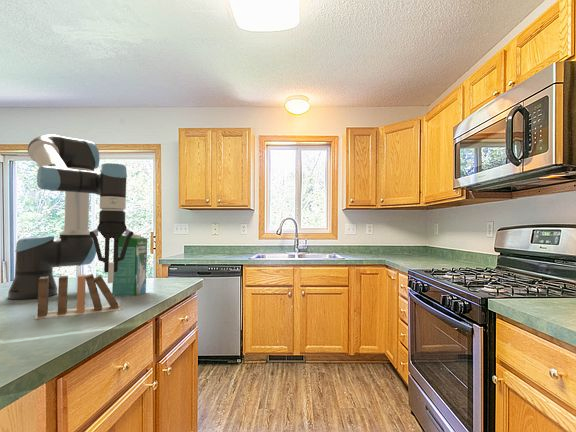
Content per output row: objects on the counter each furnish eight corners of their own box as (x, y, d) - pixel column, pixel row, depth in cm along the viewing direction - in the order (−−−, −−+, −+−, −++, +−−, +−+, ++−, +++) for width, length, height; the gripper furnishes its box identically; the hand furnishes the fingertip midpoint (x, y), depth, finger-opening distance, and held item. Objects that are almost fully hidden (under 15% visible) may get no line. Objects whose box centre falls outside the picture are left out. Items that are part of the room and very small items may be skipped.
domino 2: (58, 311, 100) (60, 275, 100) (66, 310, 101) (67, 275, 101) (57, 315, 96) (58, 277, 96) (65, 314, 97) (66, 277, 97)
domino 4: (111, 306, 107) (94, 278, 105) (117, 302, 108) (100, 274, 105) (112, 309, 103) (94, 280, 101) (118, 305, 104) (100, 276, 102)
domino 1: (39, 313, 97) (40, 277, 98) (47, 312, 98) (49, 276, 99) (37, 317, 93) (38, 279, 94) (45, 316, 94) (47, 278, 95)
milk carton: (135, 298, 123) (137, 233, 124) (111, 297, 123) (113, 232, 124) (145, 293, 132) (147, 232, 133) (124, 293, 132) (125, 232, 133)
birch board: (38, 315, 99) (39, 311, 99) (119, 306, 110) (119, 303, 110) (34, 322, 91) (34, 319, 91) (121, 313, 102) (121, 309, 102)
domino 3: (94, 307, 104) (85, 275, 103) (101, 305, 106) (92, 273, 104) (94, 310, 101) (85, 277, 100) (102, 308, 102) (92, 275, 101)
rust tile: (77, 309, 102) (78, 274, 102) (84, 308, 103) (85, 274, 103) (76, 312, 98) (77, 276, 99) (84, 312, 99) (85, 276, 100)
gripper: (89, 209, 99) (86, 285, 99) (135, 210, 106) (133, 282, 105) (89, 210, 106) (87, 282, 105) (133, 211, 112) (131, 279, 112)
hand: (110, 282), depth 105 cm, fingers closed
